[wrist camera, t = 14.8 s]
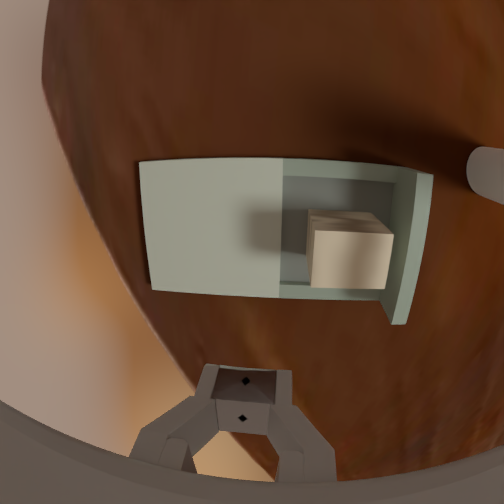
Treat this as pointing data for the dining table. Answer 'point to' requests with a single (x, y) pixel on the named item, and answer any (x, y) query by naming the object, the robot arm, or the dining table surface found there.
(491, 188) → the cylindrical container
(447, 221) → the dining table surface
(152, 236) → the board
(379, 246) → the birch block
